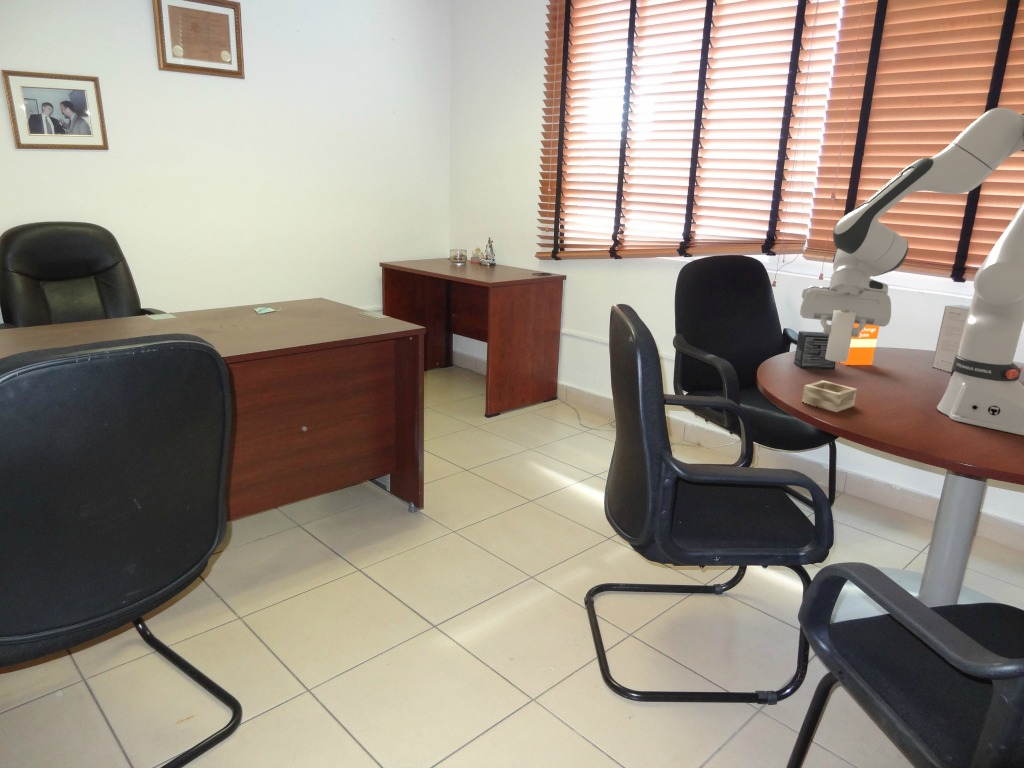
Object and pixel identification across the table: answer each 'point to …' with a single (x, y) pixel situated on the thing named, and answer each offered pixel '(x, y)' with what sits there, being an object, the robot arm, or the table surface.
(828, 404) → the open wooden box
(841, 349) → the paper roll
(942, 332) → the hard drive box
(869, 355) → the orange juice
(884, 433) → the table surface
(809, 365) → the small box
